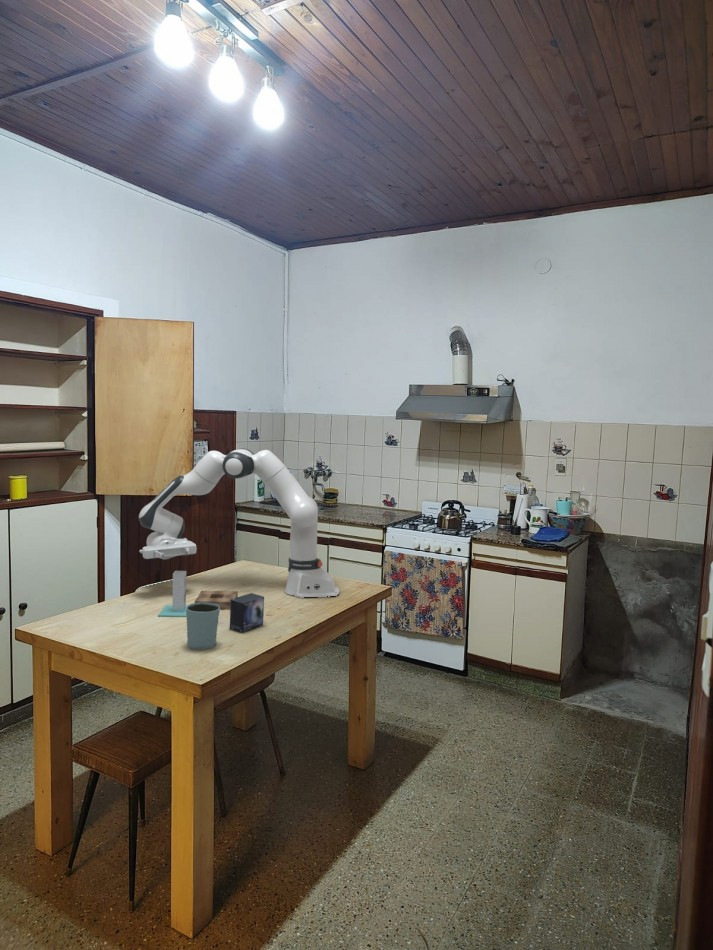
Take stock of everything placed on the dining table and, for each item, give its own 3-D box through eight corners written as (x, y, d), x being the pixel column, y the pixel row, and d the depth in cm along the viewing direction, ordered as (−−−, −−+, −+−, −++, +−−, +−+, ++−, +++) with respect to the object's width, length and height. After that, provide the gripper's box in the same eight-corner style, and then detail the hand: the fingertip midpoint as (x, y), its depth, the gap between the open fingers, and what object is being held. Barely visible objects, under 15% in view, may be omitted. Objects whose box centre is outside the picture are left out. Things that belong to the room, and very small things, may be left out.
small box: (242, 634, 201) (243, 602, 200) (228, 629, 204) (229, 599, 203) (264, 625, 210) (265, 595, 209) (250, 621, 213) (251, 592, 212)
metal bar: (185, 608, 223) (186, 570, 222) (183, 611, 219) (184, 573, 218) (174, 608, 223) (174, 570, 221) (172, 611, 219) (172, 573, 217)
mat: (198, 606, 227) (198, 605, 227) (192, 617, 215) (192, 615, 215) (165, 606, 226) (165, 605, 226) (157, 616, 214) (157, 615, 214)
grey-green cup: (181, 642, 191) (181, 604, 190) (211, 636, 197) (212, 600, 196) (192, 652, 183) (193, 613, 182) (224, 646, 189) (225, 608, 188)
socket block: (237, 598, 239) (237, 591, 239) (233, 609, 225) (233, 601, 225) (201, 598, 238) (201, 590, 238) (194, 609, 224) (194, 601, 224)
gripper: (137, 542, 237) (146, 548, 226) (190, 537, 248) (200, 543, 237) (138, 558, 238) (146, 565, 226) (190, 552, 249) (201, 559, 237)
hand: (174, 554), depth 231 cm, fingers open, 8 cm apart
